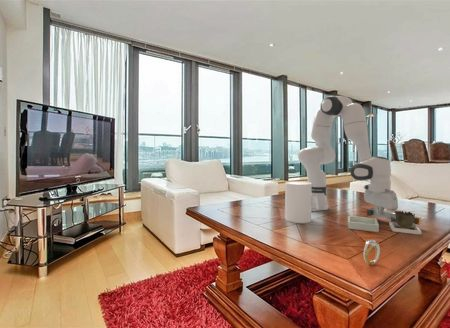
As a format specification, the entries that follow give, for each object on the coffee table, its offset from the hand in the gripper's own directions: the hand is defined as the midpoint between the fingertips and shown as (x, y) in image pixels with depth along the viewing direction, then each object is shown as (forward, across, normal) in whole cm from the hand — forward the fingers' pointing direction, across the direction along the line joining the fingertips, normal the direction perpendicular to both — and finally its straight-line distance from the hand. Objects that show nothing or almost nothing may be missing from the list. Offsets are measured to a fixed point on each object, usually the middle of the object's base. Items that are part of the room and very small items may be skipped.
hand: (379, 214), depth 127 cm
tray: (+4, -6, +14) cm, 15 cm away
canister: (+4, +9, +40) cm, 41 cm away
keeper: (+4, -13, -3) cm, 14 cm away
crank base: (+4, -5, -5) cm, 8 cm away
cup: (+4, -13, -3) cm, 14 cm away
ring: (+4, -44, +35) cm, 56 cm away
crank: (+1, -3, -5) cm, 6 cm away
